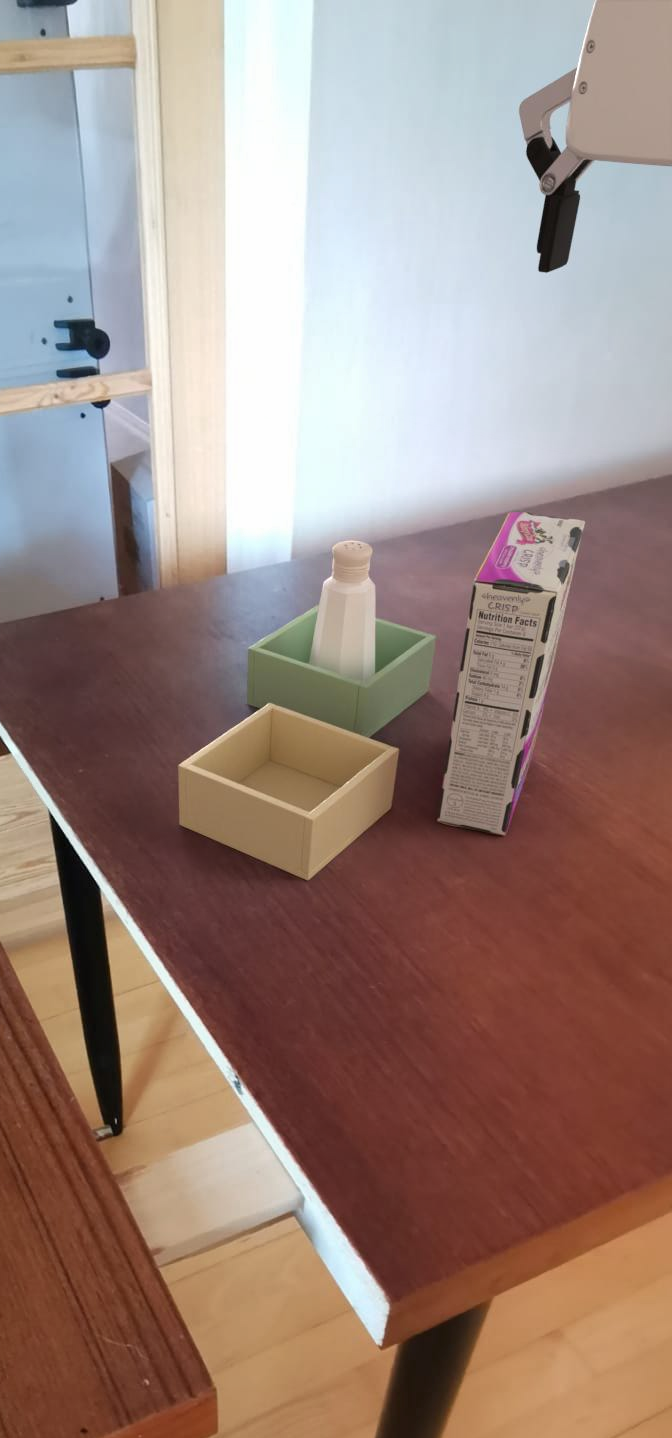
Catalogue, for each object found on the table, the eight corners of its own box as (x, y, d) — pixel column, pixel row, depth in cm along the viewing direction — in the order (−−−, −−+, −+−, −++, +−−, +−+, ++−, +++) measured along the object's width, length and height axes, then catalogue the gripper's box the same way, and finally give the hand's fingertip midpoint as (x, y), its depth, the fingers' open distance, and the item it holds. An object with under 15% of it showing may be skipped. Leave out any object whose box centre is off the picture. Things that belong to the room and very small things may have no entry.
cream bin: (391, 808, 73) (399, 748, 70) (308, 881, 68) (312, 819, 64) (267, 760, 78) (269, 702, 75) (179, 825, 72) (177, 765, 69)
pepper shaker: (333, 716, 81) (347, 567, 74) (290, 687, 85) (298, 542, 77) (389, 696, 83) (407, 550, 76) (344, 669, 87) (358, 526, 79)
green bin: (428, 691, 85) (437, 635, 82) (360, 745, 79) (366, 687, 76) (318, 655, 90) (322, 601, 86) (246, 704, 84) (247, 648, 81)
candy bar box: (464, 743, 79) (507, 507, 68) (534, 756, 78) (590, 518, 67) (429, 824, 72) (471, 575, 61) (505, 840, 71) (563, 588, 59)
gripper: (901, -111, 56) (779, 285, 68) (583, -101, 64) (523, 253, 76) (863, -116, 52) (740, 307, 64) (526, -105, 59) (473, 271, 71)
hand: (622, 278), depth 70 cm, fingers open, 9 cm apart
